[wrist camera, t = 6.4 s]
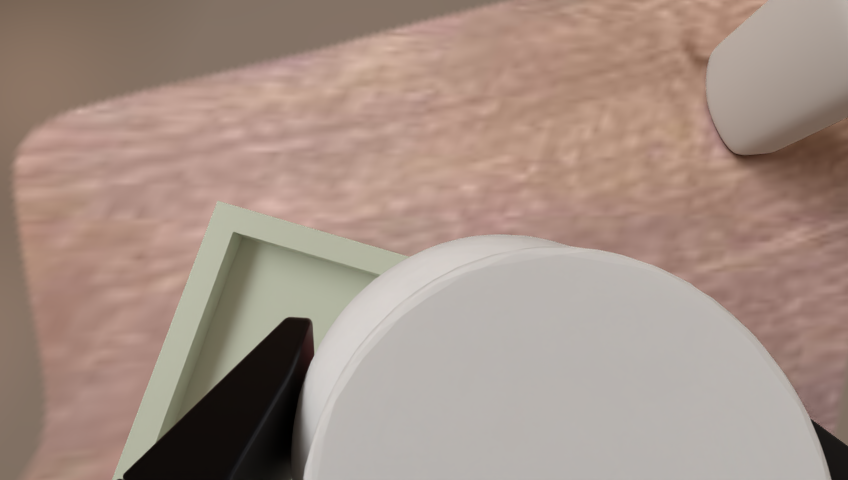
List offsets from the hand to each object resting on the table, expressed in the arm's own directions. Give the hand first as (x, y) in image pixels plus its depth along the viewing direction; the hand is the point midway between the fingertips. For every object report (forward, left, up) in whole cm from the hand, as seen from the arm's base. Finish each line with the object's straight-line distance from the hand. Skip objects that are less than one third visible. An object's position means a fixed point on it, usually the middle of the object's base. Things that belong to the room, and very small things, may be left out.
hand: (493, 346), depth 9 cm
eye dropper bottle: (+15, -11, -13) cm, 23 cm away
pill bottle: (-1, -1, -7) cm, 7 cm away
